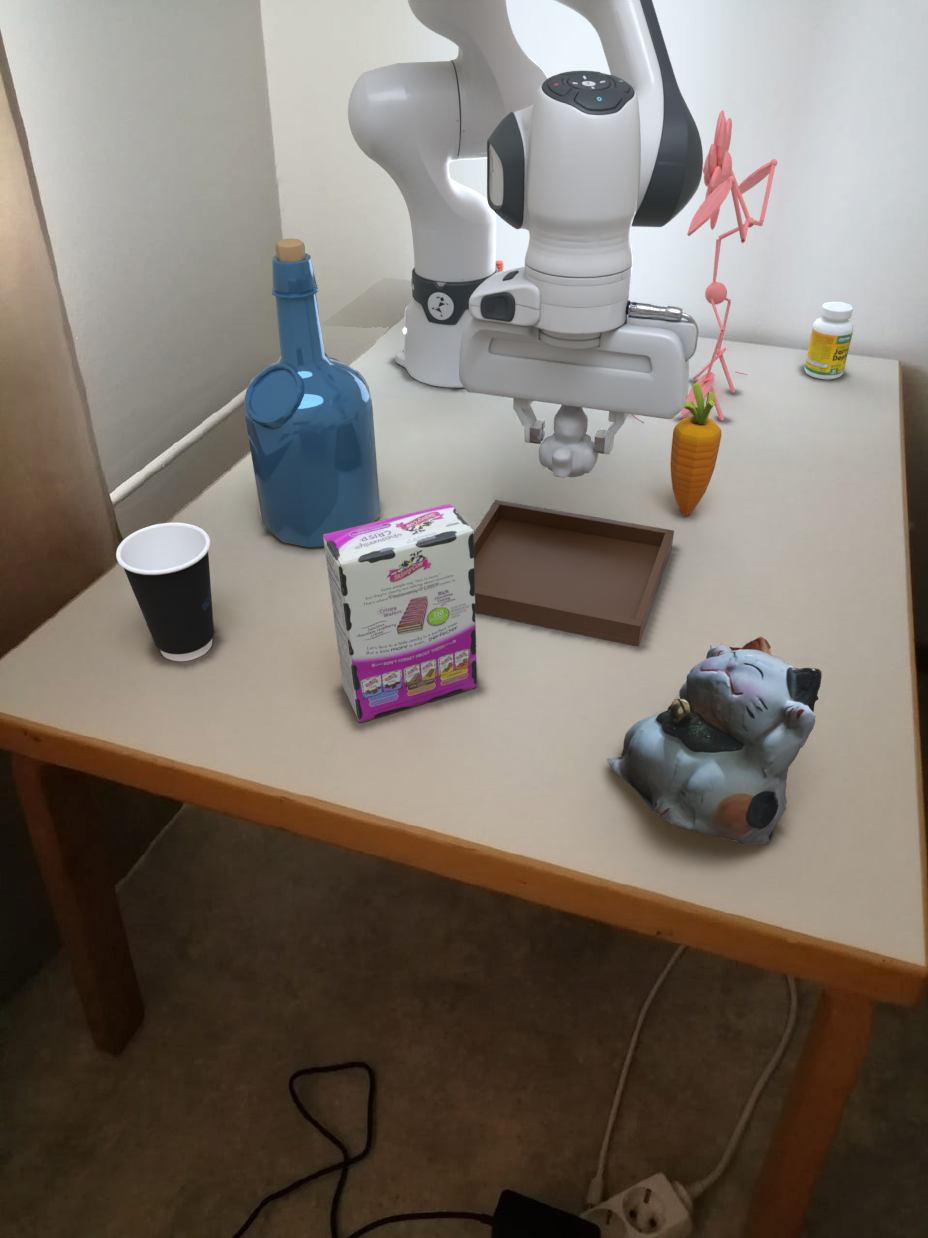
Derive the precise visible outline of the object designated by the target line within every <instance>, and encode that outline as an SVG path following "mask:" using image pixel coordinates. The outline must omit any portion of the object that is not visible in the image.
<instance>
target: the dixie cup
mask: <svg viewBox="0 0 928 1238" xmlns="http://www.w3.org/2000/svg"><path fill="white" fill-rule="evenodd" d="M210 547H211V538H210V536H209V534H208V533H207V531H205V530H204V529H202V528H201V527H200V526H197V525H194V524H190V523H186V522H162V523H156V524H152V525H148V526H146V527H143V528H140V529H138V530H136V531H134V532H132V533H131V534H129V535H128V536H126V537H125V538H124V539H123V540H122V541H121V542H120V543H119V545H118V546H117V547H116V552H115V556H116V557H115V558H116V561H117V563H118V564H119V565H120V567H122V568H123V570H124V573H125V575H126V578H127V579H128V583H129V584H130V587H131V590H132V592H133V594H134V597H135V599H136V601H137V604H138V607H139V609H140V611H141V614H142V616H143V618H144V621H145V623H146V626H147V628H148V631H149V633H150V635H151V638H152V641H153V643H154V645H155V647H156V648H157V649H158V650H159V651H160V653H161V655H162V656H163V658H165V659H167V660H169V661H172V662H173V661H174V662H188V661H192V660H195V659H198V658H200V657H202V656H204V655H205V654H207V652H209V650H210V649H211V648H212V645H213V637H214V634H215V625H214V611H213V610H214V609H213V597H212V586H211V585H212V583H211V572H210V571H211V570H210V557H209V550H210Z"/></svg>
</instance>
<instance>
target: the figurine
mask: <svg viewBox="0 0 928 1238" xmlns="http://www.w3.org/2000/svg"><path fill="white" fill-rule="evenodd" d="M715 125H716V126H715V131H714V139H713V143H711V144H710V146H709V150H708V153H707V155H706V157H705V160H704V165H703V170H702V174H703V183H704V185H705V187H707V188H706V192H705V198H704V201H703V202H702V203H701V204H700V206H699V207H698V209H697V210H696V212H695V214H694V216H693V217H692V218H691V221H690V224H689V227H688V230H687V233H686V235H687V236H688V237H691V236H692V235H693V234H694V233H695V232H697V230H699V229H700V228H701V227H702V226H703V225H704V224H705V223H707V222H708V221H710V222H709V225H710V230H712V231H713V230H714V229H715V227H716V225H717V223H718V219H719V216H720V215H719V214H720V211H721V206H722V205H723V203H724V201H725V200H726V199H727V197H728V195H729V193H731V197H732V202H733V206H734V207H733V208H734V212H735V217H736V221H737V227H734V228H732V229H730V230H728V231H726V232H724V233H722V234H720V235H718V239H715V240H716V241H715V252H714V262H713V275H712V276H713V277H712V282H711V283H710V284H708V285H707V287H706V288H705V291H704V296H705V297H704V298H705V300H706V301H707V302H708V303H709V304H711V307H712V309H713V311H714V315H715V318H716V320H717V323H718V326H719V329H720V331H719V334H718V337H717V341H716V344H715V347H714V350H713V352H712V357H711V359H710V360H709V361H708V362H707V364H705V365H704V367H702V368H701V369H699V371H698V373H696V374H695V375H694V376H693V377H692V380H693V381H694V380H696V379H697V378H699V377H700V376H701V375H702V374H703V373H704V372H705V371H706V370H707V372H706V373H705V374H704V375H702V377H701V378H699V379H698V380H697V381H696V382H695V383H698V384H700V387H701V390H702V394H703V399H704V401H705V400H706V399H707V394H708V392H712V393H713V394H714V400H713V402H714V403H715V404H714V407H715V411H716V413H717V417H718V419H719V421H724V420H725V417H724V414H723V412H722V408H721V406H720V404H719V403H720V402H719V400H718V398H717V395H716V392H715V389H714V387H713V385H714V383H715V378H716V377H715V376H716V375H715V373H714V372H713V371H712V367H713V365H714V363H715V362H716V361H717V360H718V359H719V361H720V364H721V367H722V370H723V373H724V376H725V379H726V382H727V385H728V387H729V390H730V393H731V394H734V393H735V392H736V389H735V387H734V384H733V381H732V378H731V375H730V372H729V369H728V366H727V364H726V361H725V357H724V353H725V352H726V351H727V347H724V348H722V345H723V341H724V340H723V339H724V336H725V331H726V326H727V321H728V317H729V313H730V308H731V304H732V300H731V298H729V297H727V296H728V290H727V287H726V285H725V284H724V283H722V282H719V281H717V277H718V276H717V275H718V269H719V268H718V267H719V261H720V252H721V251H720V250H721V244H722V240H723V239H726V238H727V237H729V236H731V235H733V234H735V233H739V238H740V243H741V244H745V243H746V240H747V236H748V235H747V234H748V230H749V229H750V228H752V227H753V226H758V227H763V225H764V221H765V218H766V212H767V208H768V203H769V197H770V193H771V189H772V184H773V179H774V174H775V169H776V166H777V165H778V160H777V159H775V158H773V159H771V160H770V161H769V162H767V163H765V164H764V165H762V166H760V167H759V168H757V169H756V170H755V171H753V172H752V173H751V174H749V175H748V176H747V177H746V178H744V179H743V181H742V182H741V183H740V184H738V180H737V178H736V176H735V173H734V170H733V160H732V159H733V158H732V155H731V153H730V152H729V150H730V146H731V139H732V129H733V121H732V118H731V117H728V119H726V116H725V112H724V110H723V109H722V110H721V111H720V112H719V114H718V117H717V120H716V124H715ZM767 176H768V177H767ZM766 177H767V183H766V187H765V193H764V197H763V202H762V207H761V210H760V211H761V212H760V216H759V220H757V219H756V220H755V219H754V218H753V217H751V216H750V213H749V211H748V207H747V205H746V202H745V200H744V196H743V194H745V193H746V192H748V191H750V190H752V188H754V187H756V186H757V185H758V184H760V182H761V181H763V180H764V179H765V178H766ZM730 191H731V192H730ZM740 207H741V208H740ZM741 210H742V212H743V216H744V218H745V221H744V223H743V217H742V214H741ZM725 301H726V302H727V304H726V310H725V314H724V319H723V323H722V321H721V318H720V315H719V312H718V309H717V306H716V305H720V304H722V303H723V302H725ZM734 373H735V374H739V375H744V376H748V373H744V372H738V371H734ZM688 401H691V402H693V404H694V406H695V405H697V403H696V399H695V395H694V392H693V387H692V386H691V388H690V390H689V391H688V395H687V400H686V402H688ZM689 414H692V413H691V412H690V411H689V410H688V409H686V408H683V409H682V411H681V412H680V416H679V417H680V418H681V419H684V418H685V417H687V416H688V415H689ZM630 415H631V417H633V418H634V419H636V420H637V421H639V422H640V423H642V424H643V425H644V423H645V422H644V421H642V420H640V419H639V418H637V417H636V415H634V414H630Z"/></svg>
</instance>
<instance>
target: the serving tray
mask: <svg viewBox="0 0 928 1238" xmlns="http://www.w3.org/2000/svg"><path fill="white" fill-rule="evenodd" d="M674 534H675V530H673V529H668V528H663V527H662V528H661V527H656V526H649V525H646V524H645V525H644V524H639V523H632V522H627V521H622V520H621V521H620V520H615V519H609V518H603V517H599V516H598V517H597V516H592V515H586V514H580V513H574V512H568V511H562V510H557V509H551V508H545V507H539V506H534V505H528V504H524V503H523V504H521V503H516V502H512V501H511V502H510V501H504V500H498V499H495V500H494V501H493V503H492V504H491V506H490V508H489V509H488V511H487V513H486V514H485V515H484V516H483V518H482V519H481V522H480V523H479V524H478V526H477V528H476V529H475V531H473V538H474V573H475V614H479V615H485V616H488V617H489V616H490V617H495V618H499V619H503V620H508V621H513V622H518V623H523V624H527V625H533V626H538V627H543V628H547V629H552V630H557V631H562V632H567V633H571V634H576V635H582V636H586V637H591V638H595V639H600V640H606V641H610V642H615V643H620V644H624V645H629V646H635V647H639V646H640V643H641V640H642V637H643V634H644V631H645V629H646V625H647V622H648V619H649V616H650V613H651V612H652V611H651V610H652V608H653V605H654V602H655V599H656V596H657V593H658V590H659V587H660V584H661V583H662V582H661V581H662V579H663V576H664V572H665V570H666V567H667V564H668V561H669V558H670V555H671V552H672V549H673V541H674V536H675V535H674Z"/></svg>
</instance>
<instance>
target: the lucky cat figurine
mask: <svg viewBox="0 0 928 1238" xmlns="http://www.w3.org/2000/svg"><path fill="white" fill-rule="evenodd" d="M709 647H710V648H709V649H708V651H707V653H706V657H705V659H703V660H702V661H701V662H699V663H697V664H695V665H694V666H693V667H691V669H690V671H689V673H688V674H687V675H686V679H685V682H684V683H683V684H682V685H681V687H680V689H679V692H678V696H679V698H674V700H673V701H671V704H670V705H668V706H667V710H664V711H662V712H660V713H658V714H653V715H649V716H646V717H644V718H642V719H639V720H638V721H637V722H636V723H634V724H633V725H632V726H631V727H630V728H629V729H628V730H627V731H626V733H625V735H624V739H623V746H622V752H621V755H620V756H617V757H616V758H611V757H607V758H606V761H607V763H608V766H609V768H610V771H612V772H613V773H614V774H615V775H617V776H619V777H620V778H622V779H623V780H624V781H626V782H627V783H628V784H629V785H630V786H631V787H632V788H633V789H634V790H635V792H636V793H637V794H638V795H639V797H640V798H641V799H642V800H643V802H644V804H646V806H647V807H648V808H649V809H650V810H651V811H652V812H654V813H655V814H656V815H658V816H660V817H661V818H663V819H665V820H666V821H667V822H668V823H669V824H671V825H674V826H676V827H679V828H681V829H683V830H687V831H690V832H694V833H697V834H701V835H705V836H710V837H715V838H719V839H724V840H728V841H735V842H737V843H739V844H742V845H743V844H744V845H766V844H770V842H771V840H772V838H773V835H774V832H775V828H776V826H777V824H778V823H779V820H780V819H781V817H782V816H783V814H784V813H785V811H786V809H787V804H788V802H787V801H788V800H787V786H788V785H787V781H788V780H787V779H788V772H789V767H791V764H792V763H793V762H795V760H796V758H797V756H798V754H799V752H800V750H801V749H802V748H803V747H804V746H805V745H806V743H807V741H808V739H809V737H810V734H811V733H812V731H813V729H814V727H815V723H816V716H817V715H815V704H816V702H817V701H819V696H818V694H819V691H820V688H821V684H822V678H823V677H822V675H823V674H822V670H821V669H819V668H816V667H815V668H813V667H802V668H800V667H799V668H798V667H795V666H793V665H791V664H789V663H788V662H787V661H786V660H785V659H784V658H782V657H781V656H778V655H773V654H772V651H771V647H772V646H771V645H770V643H769V641H768V640H767V639H766V638H764V637H763V636H758V637H757V638H754V639H753V640H750V641H749V642H746V643H745V644H744V645H743V646H742V647H733V646H728V645H726V644H723V643H720V644H719V645H718V646H714V645H713V644H710V645H709Z"/></svg>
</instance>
